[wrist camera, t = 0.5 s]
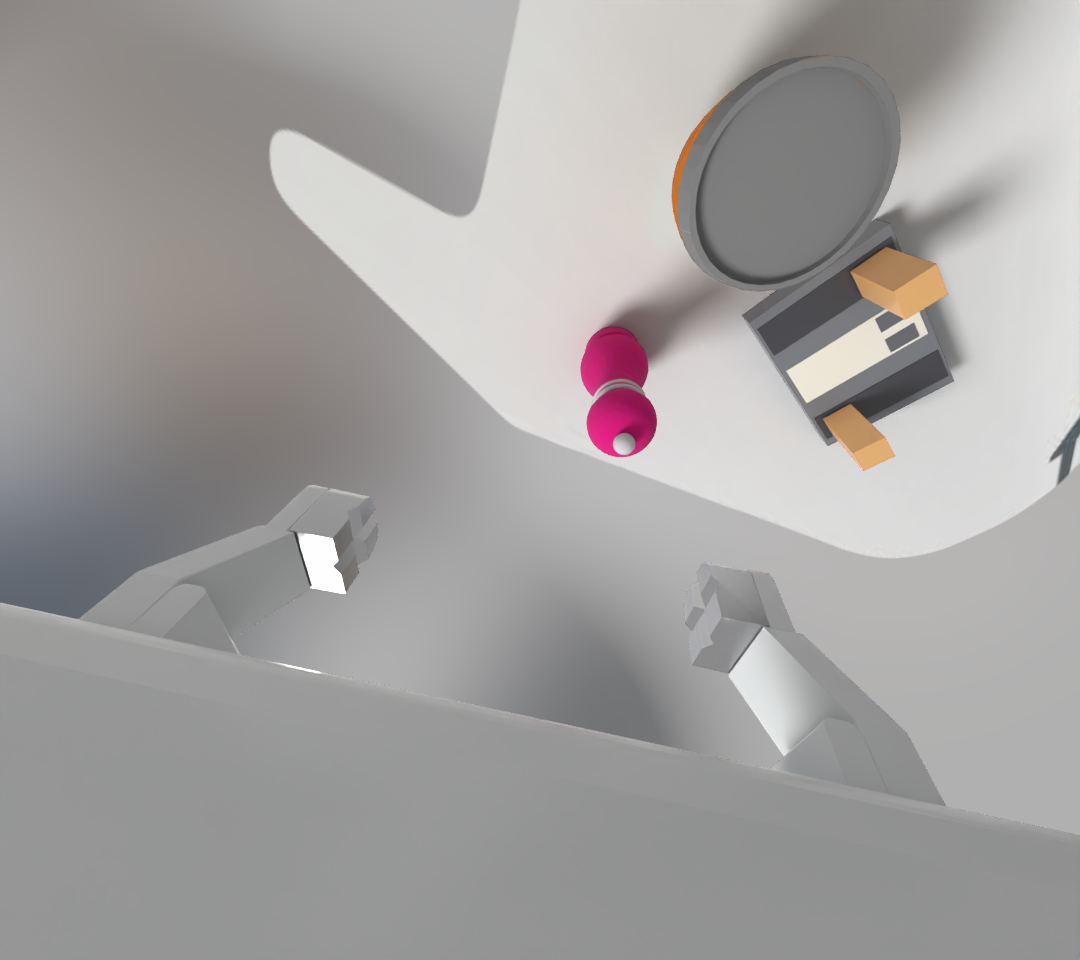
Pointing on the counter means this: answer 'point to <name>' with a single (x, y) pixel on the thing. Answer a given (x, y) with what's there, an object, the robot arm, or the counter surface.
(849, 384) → the switch panel
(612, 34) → the counter surface
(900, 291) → the slider
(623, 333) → the pepper mill
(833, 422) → the slider
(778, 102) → the reusable coffee cup
